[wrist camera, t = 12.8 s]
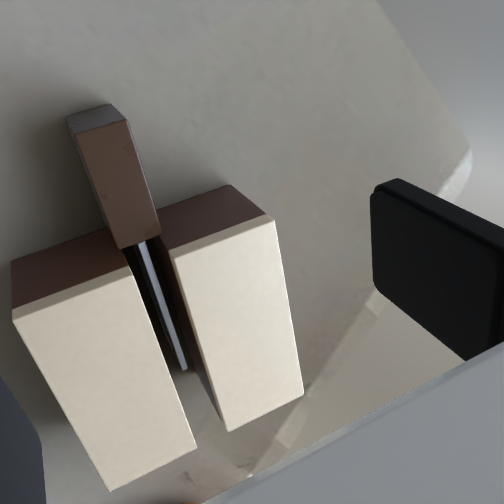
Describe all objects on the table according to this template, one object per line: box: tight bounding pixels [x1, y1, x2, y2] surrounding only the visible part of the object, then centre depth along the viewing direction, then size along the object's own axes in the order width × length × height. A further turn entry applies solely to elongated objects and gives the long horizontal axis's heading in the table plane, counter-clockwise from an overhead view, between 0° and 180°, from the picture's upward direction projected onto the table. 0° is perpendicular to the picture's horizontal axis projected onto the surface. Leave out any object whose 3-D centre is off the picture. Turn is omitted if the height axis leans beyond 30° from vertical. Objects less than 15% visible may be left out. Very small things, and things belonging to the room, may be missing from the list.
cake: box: [11, 185, 304, 492], centre depth 29 cm, size 13×13×6 cm
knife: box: [65, 104, 188, 371], centre depth 27 cm, size 15×2×4 cm, turn 11°
